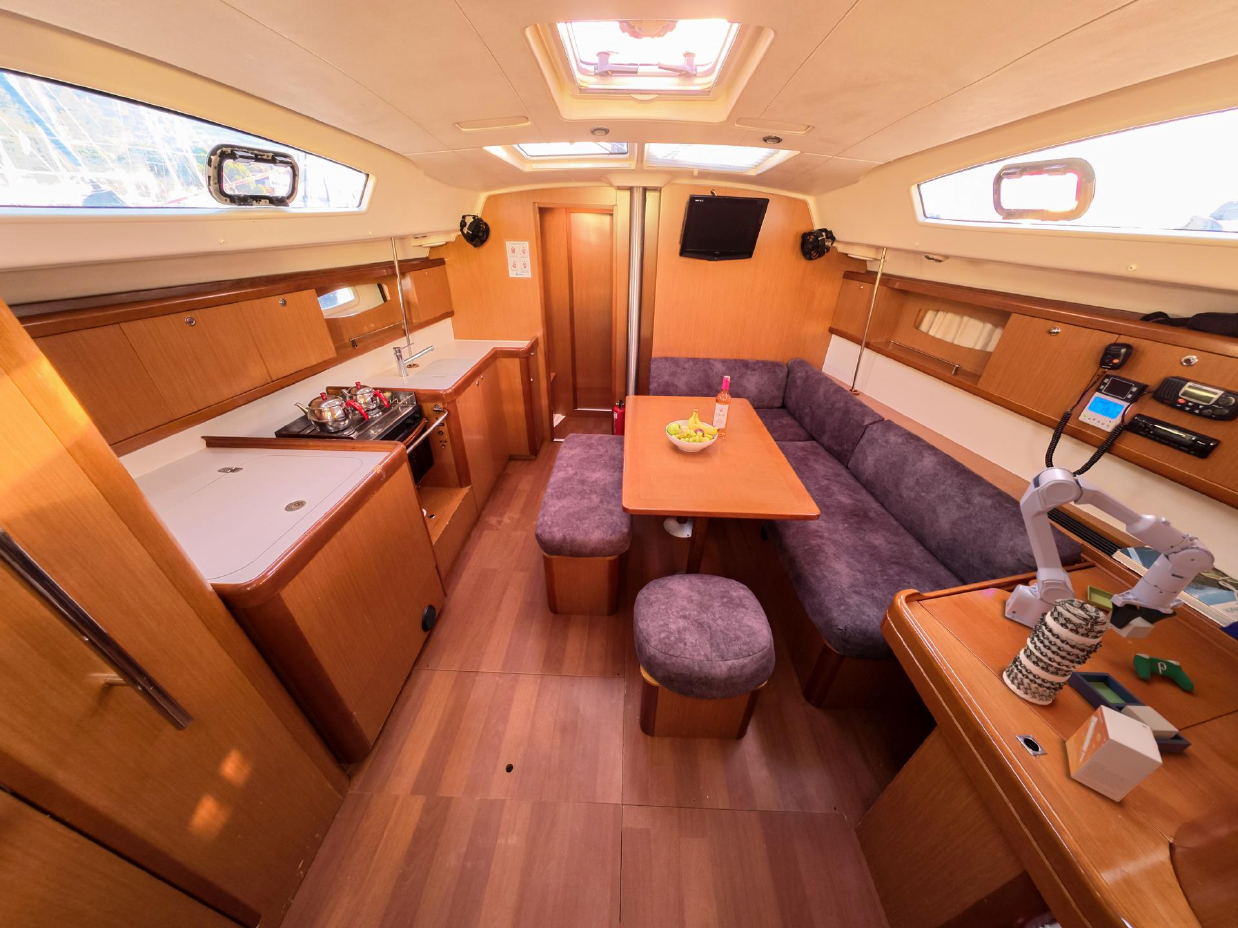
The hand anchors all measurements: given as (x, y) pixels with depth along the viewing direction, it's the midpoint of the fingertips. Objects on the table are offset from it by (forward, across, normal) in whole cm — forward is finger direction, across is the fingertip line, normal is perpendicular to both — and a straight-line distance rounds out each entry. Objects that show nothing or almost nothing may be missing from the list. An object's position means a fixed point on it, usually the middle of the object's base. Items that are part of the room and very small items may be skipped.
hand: (1126, 625), depth 98 cm
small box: (+9, -34, -28) cm, 45 cm away
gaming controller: (+9, +4, -7) cm, 12 cm away
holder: (+8, -16, -17) cm, 24 cm away
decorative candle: (+9, -31, -11) cm, 34 cm away
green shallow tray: (+9, +16, +15) cm, 24 cm away
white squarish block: (+1, 0, 0) cm, 1 cm away
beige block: (+8, -16, -20) cm, 27 cm away
